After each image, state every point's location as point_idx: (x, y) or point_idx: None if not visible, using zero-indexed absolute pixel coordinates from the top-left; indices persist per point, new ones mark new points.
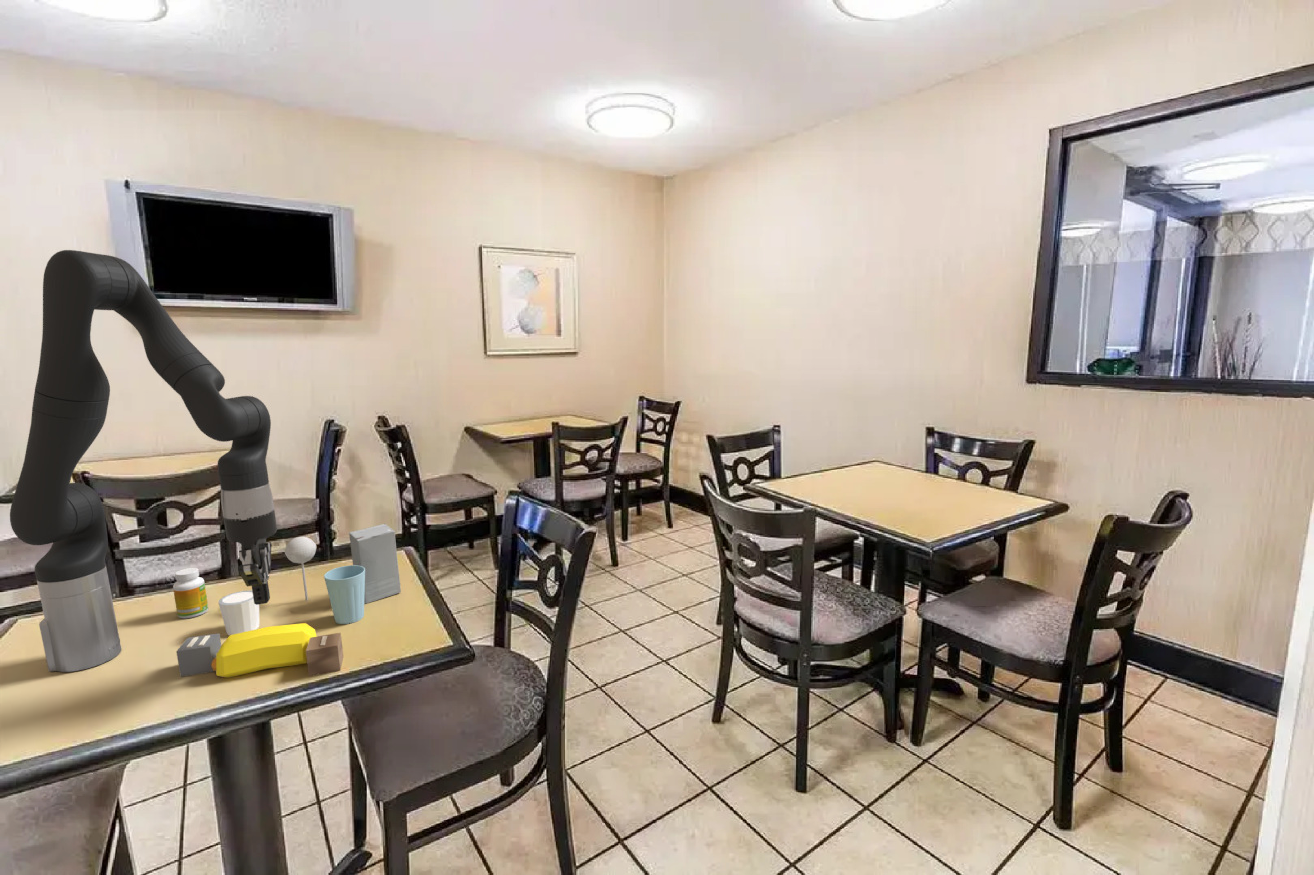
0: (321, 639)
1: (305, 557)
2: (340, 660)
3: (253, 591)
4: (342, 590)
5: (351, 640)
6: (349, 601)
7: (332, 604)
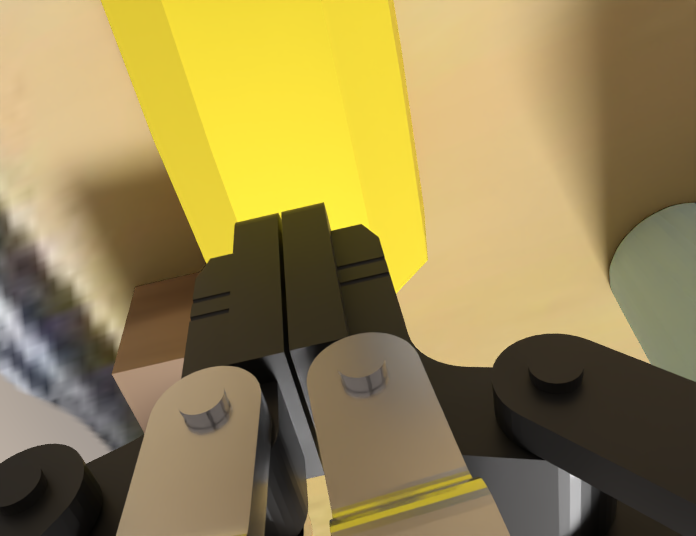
0: None
1: None
2: None
3: (229, 318)
4: None
5: (433, 335)
6: None
7: (692, 279)
